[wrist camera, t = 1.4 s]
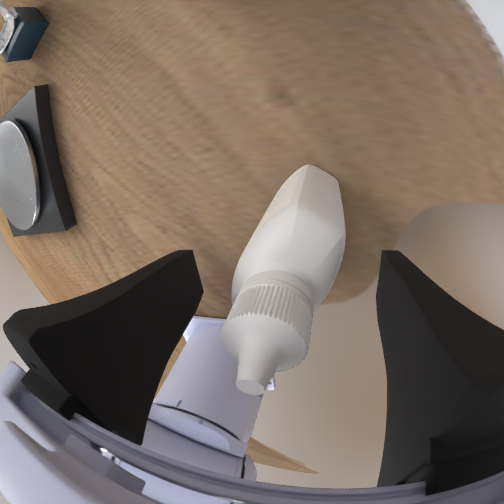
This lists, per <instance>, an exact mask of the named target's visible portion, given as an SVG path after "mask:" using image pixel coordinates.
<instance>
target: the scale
mask: <svg viewBox="0 0 504 504" xmlns="http://www.w3.org/2000/svg"><path fill="white" fill-rule="evenodd" d="M7 120H15V121H17V122H18V123H19V124H20V125H21V126H22V127H23V128H24V130H25V132H26V133H27V135H28V138H29V140H30V142H31V145H32V148H33V151H34V155H35V159H36V163H37V168H38V174H39V182H40V209H39V215H38V218H37V220H36V222H35V224H34V225H33V226H32V227H30V228H29V229H27V230H21V229H18V228H16V227H15V226H14V225H13V224H12V223H11V222H10V221H9V220H8V218H7V220H8V223H9V225H10V228H11V231H12V234H13V236H14V237H15V236H23V235H32V234H41V233H50V232H60V231H67V230H68V229H70V228H71V227H73V226H74V225H76V224H77V222H76V219H75V216H74V213H73V210H72V207H71V203H70V200H69V196H68V193H67V189H66V186H65V182H64V178H63V174H62V170H61V166H60V161H59V157H58V152H57V147H56V142H55V137H54V131H53V125H52V119H51V111H50V104H49V94H48V85H40V86H35V87H33V88H32V89H31V90H30V91H29V92H28V93H27V94H26V95H25V96H24V97H23V98H22V99H21V100H19V101H18V102H17V103H16V104H15V105H14V106H13V107H12V109H11V110H10V111H9V112H8V113H7V114H6V115H5V116H4V117H3V118H2V119H1V120H0V124H1V123H2V122H4V121H7Z"/></svg>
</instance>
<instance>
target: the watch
mask: <svg viewBox="0 0 504 504" xmlns="http://www.w3.org/2000/svg"><path fill="white" fill-rule="evenodd" d="M0 14H1V15H2V16H3V18H4V19H5V20H7V21H6V23H5V25H4V27H3V29H2V31H1V34H0V54H1V53H2V54H3V57H4V59H5V61H6V62H11V61H19V60H29V59H31V56H32V54H33V52H34V50H35V48H36V46H37V44H38V42H39V40H40V38H41V37H42V35H43V33H44V31H45V29H46V28H47V26H48V24H49V23H48V22H47V21H46V19H45V18H44V17H43V16H42V15H41V14H40V12H39V11H38V10H37V9H36V8H35V7H13V9H12V11H11V10H10V9H9V8H8V6H7V5H6V4H5V3H3V2H2V1H0Z"/></svg>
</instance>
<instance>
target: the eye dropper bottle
mask: <svg viewBox="0 0 504 504" xmlns="http://www.w3.org/2000/svg"><path fill="white" fill-rule="evenodd" d="M345 239H346V230H345V220H344V213H343V206H342V200H341V195H340V189H339V184H338V181H337V180H336V179H335V178H334V177H333V176H331V175H330V174H328V173H326V172H325V171H323V170H321V169H319V168H318V167H316V166H314V165H309V164H308V165H304V166H302V167H301V168H299V169H298V170H297V171H295V172H294V173H293V174H292V175H291V176H290V177H289V178H288V179H287V180H286V181H285V182H284V184H283V185H282V186H281V187H280V189H279V190H278V192H277V193H276V195H275V197H274V199H273V200H272V202H271V204H270V206H269V207H268V209H267V211H266V213H265V214H264V216H263V218H262V219H261V221H260V223H259V225H258V226H257V228H256V230H255V232H254V233H253V235H252V237H251V239H250V241H249V242H248V244H247V246H246V248H245V249H244V251H243V253H242V255H241V257H240V259H239V262H238V264H237V267H236V270H235V273H234V277H233V282H232V290H231V299H232V308H231V310H230V313H229V315H228V317H227V319H226V321H225V323H224V325H223V327H222V333H221V335H222V341H223V344H224V346H225V348H226V349H227V351H228V352H229V353H230V354H231V355H232V356H233V357H234V358H235V359H236V360H237V361H239V365H238V373H237V381H236V386H237V388H238V389H239V390H240V391H242V392H244V393H246V394H249V395H261V394H263V393H264V391H265V390H266V388H267V386H268V384H269V382H270V380H271V378H272V377H273V375H274V373H275V372H278V371H284V370H288V369H291V368H293V367H295V366H297V365H298V364H300V363H301V362H302V360H304V358H305V357H306V355H307V352H308V348H309V341H310V334H311V325H312V317H313V312H314V311H315V310H316V309H317V308H318V307H319V306H320V304H321V303H322V302H323V300H324V299H325V298H326V296H327V294H328V293H329V291H330V290H331V288H332V286H333V284H334V282H335V279H336V277H337V275H338V272H339V269H340V266H341V262H342V259H343V254H344V249H345Z"/></svg>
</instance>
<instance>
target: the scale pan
mask: <svg viewBox="0 0 504 504" xmlns="http://www.w3.org/2000/svg"><path fill="white" fill-rule="evenodd" d="M0 206H1V208H2V210H3V212H4V214H5V215H6V217H7V218H8V220H9V221H10V222H11V223H12V224H13V225H14V226H15V227H16V228H18V229H21V230H27V229H29V228H30V227H32V226H33V225H34V224H35V222H36V220H37V218H38V215H39V209H40V182H39V174H38V168H37V163H36V159H35V155H34V151H33V148H32V145H31V142H30V140H29V138H28V135H27V133H26V132H25V130H24V128H23V127H22V126H21V125H20V124H19V123H18V122H17V121H15V120H7V121H4V122H2V123H1V124H0Z"/></svg>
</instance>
